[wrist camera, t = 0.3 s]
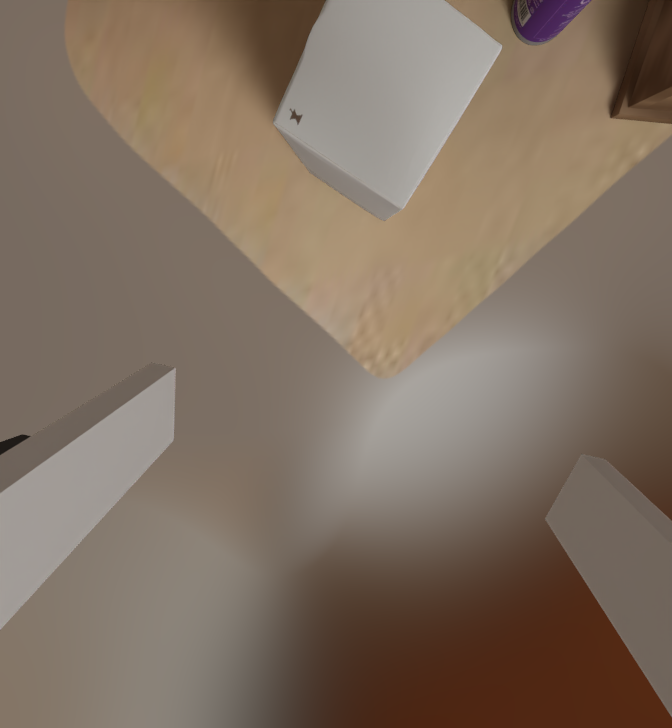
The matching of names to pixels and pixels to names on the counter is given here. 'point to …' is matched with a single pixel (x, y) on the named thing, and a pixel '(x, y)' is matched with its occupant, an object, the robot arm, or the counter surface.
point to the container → (543, 18)
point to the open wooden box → (649, 69)
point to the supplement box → (382, 95)
